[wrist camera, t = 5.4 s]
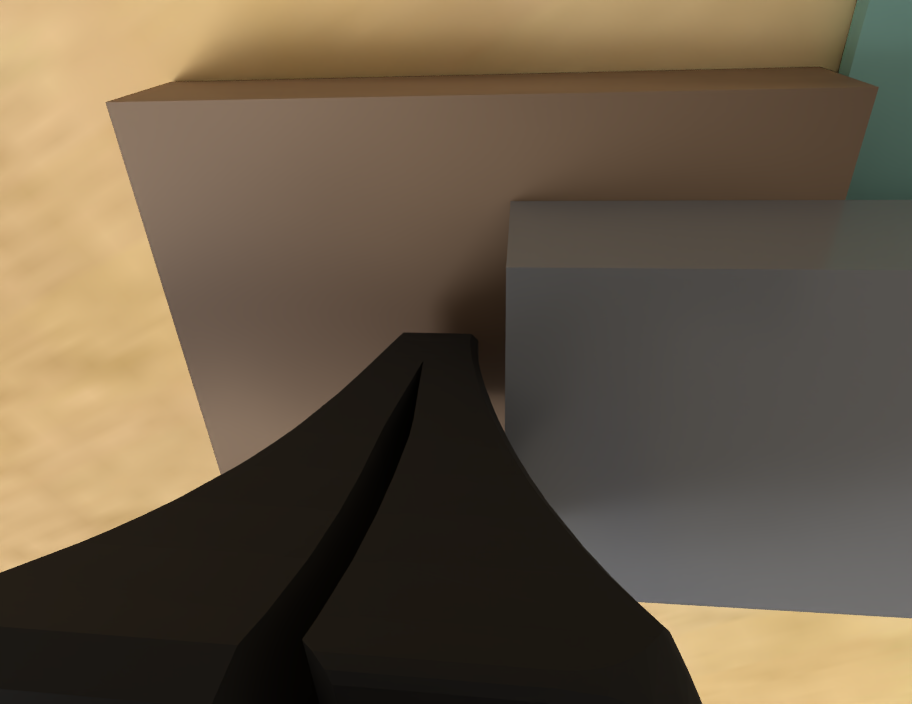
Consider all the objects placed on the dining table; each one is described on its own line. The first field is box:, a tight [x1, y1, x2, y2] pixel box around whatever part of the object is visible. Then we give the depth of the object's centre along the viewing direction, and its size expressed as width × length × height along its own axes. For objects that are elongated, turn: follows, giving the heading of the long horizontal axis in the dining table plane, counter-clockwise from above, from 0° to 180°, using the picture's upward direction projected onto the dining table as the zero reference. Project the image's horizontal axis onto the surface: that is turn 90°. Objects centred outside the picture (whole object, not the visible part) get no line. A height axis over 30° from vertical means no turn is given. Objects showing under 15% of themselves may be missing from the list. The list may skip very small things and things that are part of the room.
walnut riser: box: [106, 67, 879, 475], centre depth 12 cm, size 9×11×2 cm
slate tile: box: [505, 200, 912, 618], centre depth 10 cm, size 6×10×2 cm, turn 92°
